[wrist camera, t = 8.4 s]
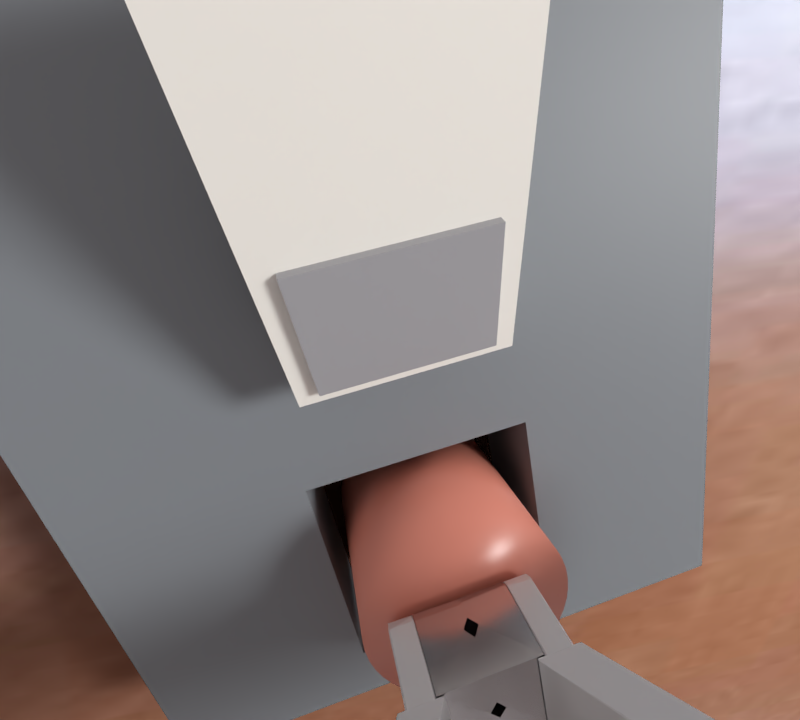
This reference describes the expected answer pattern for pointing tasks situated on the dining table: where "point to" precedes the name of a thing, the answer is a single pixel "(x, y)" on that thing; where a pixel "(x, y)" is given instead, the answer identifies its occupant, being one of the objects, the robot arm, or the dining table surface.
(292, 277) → the block
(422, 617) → the robot arm
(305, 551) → the panel
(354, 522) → the push button
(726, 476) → the dining table surface
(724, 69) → the dining table surface
